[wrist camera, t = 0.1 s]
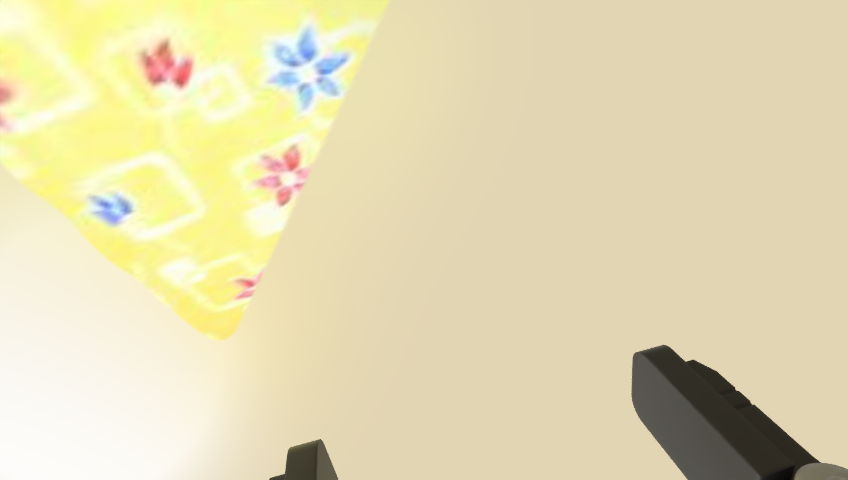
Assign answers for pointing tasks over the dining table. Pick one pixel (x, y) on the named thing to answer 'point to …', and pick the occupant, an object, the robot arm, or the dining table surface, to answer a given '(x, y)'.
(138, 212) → the dining table surface
